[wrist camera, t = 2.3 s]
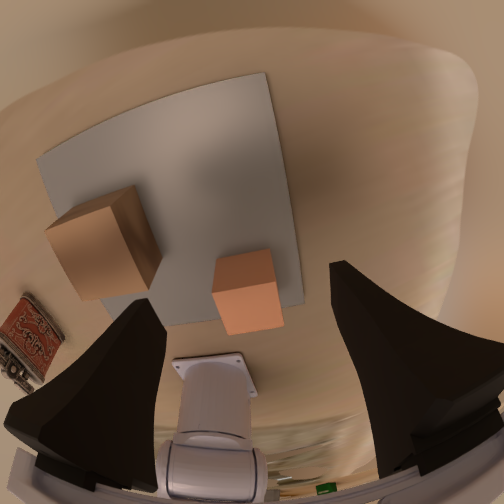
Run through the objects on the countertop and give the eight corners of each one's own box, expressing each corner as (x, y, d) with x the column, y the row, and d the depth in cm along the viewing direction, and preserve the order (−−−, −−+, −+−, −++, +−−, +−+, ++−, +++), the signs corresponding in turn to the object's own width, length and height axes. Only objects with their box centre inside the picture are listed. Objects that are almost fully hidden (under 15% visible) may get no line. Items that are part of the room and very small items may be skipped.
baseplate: (302, 296, 24) (304, 303, 23) (123, 324, 25) (120, 330, 24) (263, 74, 14) (264, 72, 14) (42, 156, 16) (35, 159, 15)
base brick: (162, 257, 20) (148, 290, 17) (102, 271, 20) (82, 301, 17) (134, 184, 17) (110, 205, 14) (72, 207, 17) (44, 231, 14)
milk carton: (322, 486, 89) (326, 519, 72) (312, 486, 85) (317, 521, 68) (338, 482, 86) (343, 515, 69) (329, 482, 83) (335, 517, 65)
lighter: (19, 294, 23) (-21, 352, 15) (31, 289, 23) (-12, 352, 14) (55, 341, 27) (27, 400, 19) (70, 339, 27) (40, 403, 18)
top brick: (278, 290, 22) (284, 326, 18) (229, 299, 22) (228, 335, 19) (269, 248, 20) (275, 281, 16) (216, 259, 20) (211, 293, 17)
